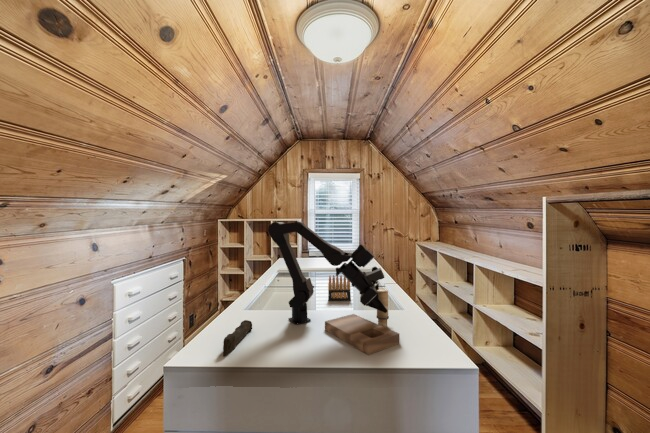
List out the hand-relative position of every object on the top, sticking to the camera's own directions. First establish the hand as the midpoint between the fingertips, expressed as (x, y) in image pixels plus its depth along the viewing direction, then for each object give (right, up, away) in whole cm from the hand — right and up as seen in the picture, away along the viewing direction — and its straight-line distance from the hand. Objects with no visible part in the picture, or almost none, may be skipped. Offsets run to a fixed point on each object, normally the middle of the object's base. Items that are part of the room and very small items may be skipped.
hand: (386, 307), depth 100 cm
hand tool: (-50, -8, -12) cm, 51 cm away
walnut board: (-11, -7, -8) cm, 15 cm away
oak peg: (-1, -7, 0) cm, 7 cm away
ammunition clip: (-15, -7, +33) cm, 37 cm away
